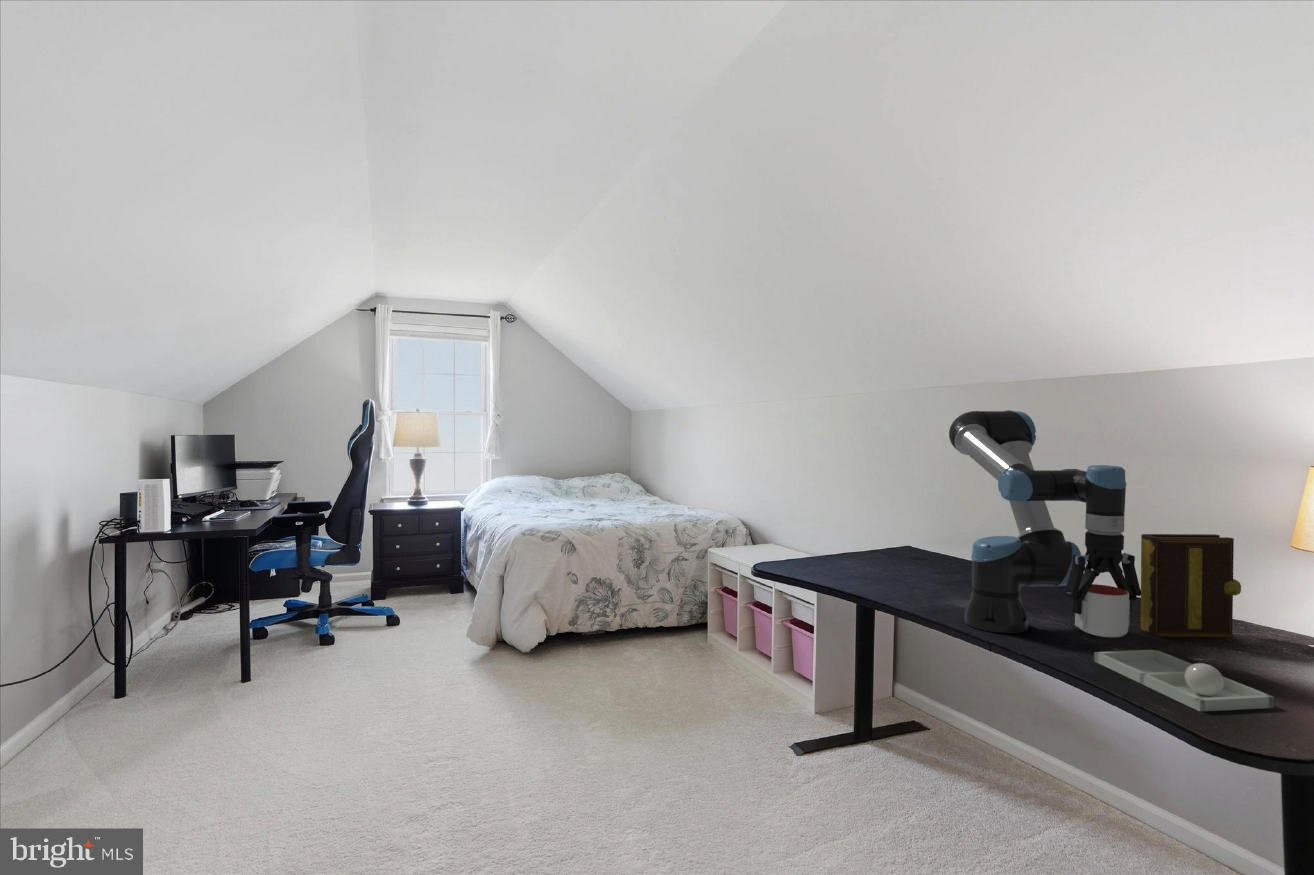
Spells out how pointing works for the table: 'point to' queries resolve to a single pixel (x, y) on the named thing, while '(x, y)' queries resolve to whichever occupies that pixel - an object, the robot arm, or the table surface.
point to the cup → (1107, 611)
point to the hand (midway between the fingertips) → (1101, 626)
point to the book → (1187, 585)
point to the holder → (1180, 681)
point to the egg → (1204, 679)
